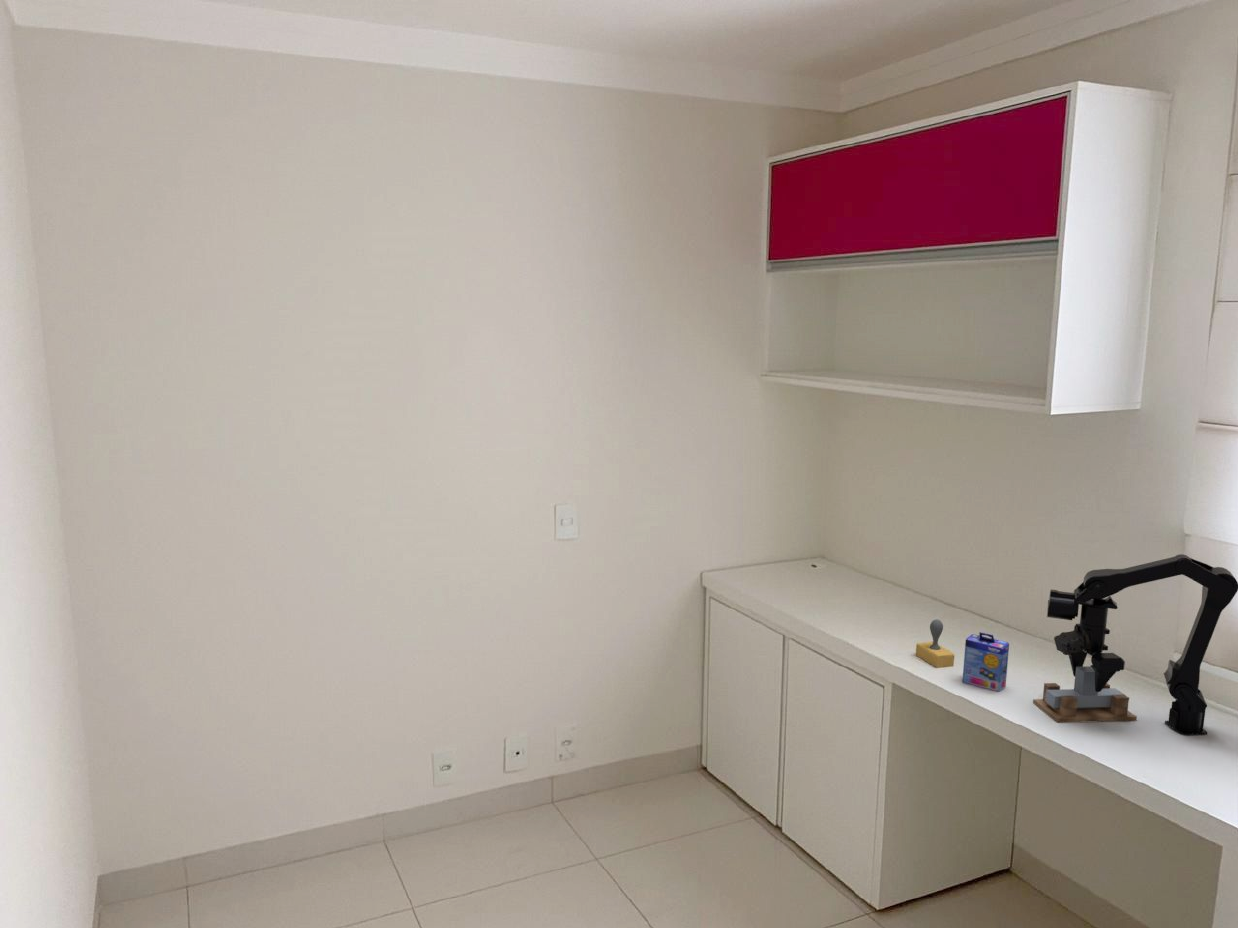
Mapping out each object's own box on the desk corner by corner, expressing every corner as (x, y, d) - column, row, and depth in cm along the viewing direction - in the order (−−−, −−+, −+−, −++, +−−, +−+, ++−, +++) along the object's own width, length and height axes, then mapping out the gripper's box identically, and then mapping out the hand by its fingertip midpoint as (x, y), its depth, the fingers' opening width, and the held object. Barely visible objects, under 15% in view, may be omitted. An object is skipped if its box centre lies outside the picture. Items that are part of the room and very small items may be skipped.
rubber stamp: (914, 655, 263) (917, 614, 261) (932, 653, 265) (935, 613, 263) (936, 668, 254) (939, 626, 252) (954, 666, 255) (957, 624, 253)
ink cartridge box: (960, 682, 244) (965, 630, 242) (968, 676, 248) (972, 624, 246) (999, 692, 238) (1004, 639, 236) (1006, 686, 242) (1011, 633, 240)
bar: (1114, 699, 230) (1118, 665, 228) (1124, 706, 226) (1128, 671, 224) (1044, 701, 228) (1048, 666, 227) (1053, 708, 224) (1057, 672, 223)
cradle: (1108, 701, 234) (1111, 680, 233) (1136, 720, 223) (1138, 698, 222) (1032, 702, 232) (1034, 682, 231) (1057, 722, 221) (1059, 700, 220)
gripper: (1040, 610, 232) (1035, 669, 235) (1083, 636, 214) (1077, 700, 216) (1082, 610, 233) (1076, 668, 236) (1129, 636, 215) (1122, 699, 217)
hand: (1086, 683), depth 226 cm, fingers open, 9 cm apart
